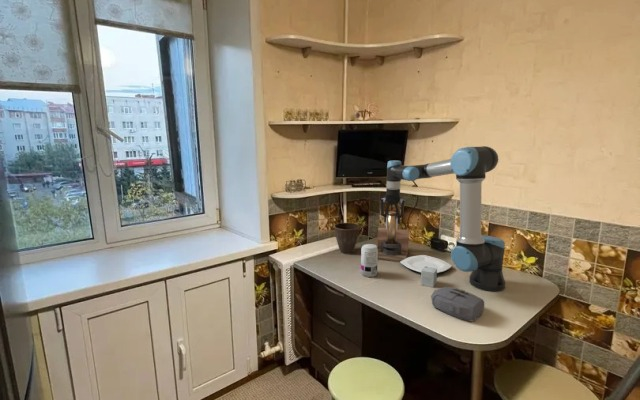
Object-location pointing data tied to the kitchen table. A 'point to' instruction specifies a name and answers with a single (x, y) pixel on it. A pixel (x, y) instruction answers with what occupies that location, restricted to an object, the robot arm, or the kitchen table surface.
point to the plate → (425, 263)
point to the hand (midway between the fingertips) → (391, 228)
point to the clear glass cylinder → (391, 227)
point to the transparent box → (393, 245)
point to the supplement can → (369, 260)
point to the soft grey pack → (458, 303)
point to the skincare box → (428, 276)
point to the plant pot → (346, 236)
